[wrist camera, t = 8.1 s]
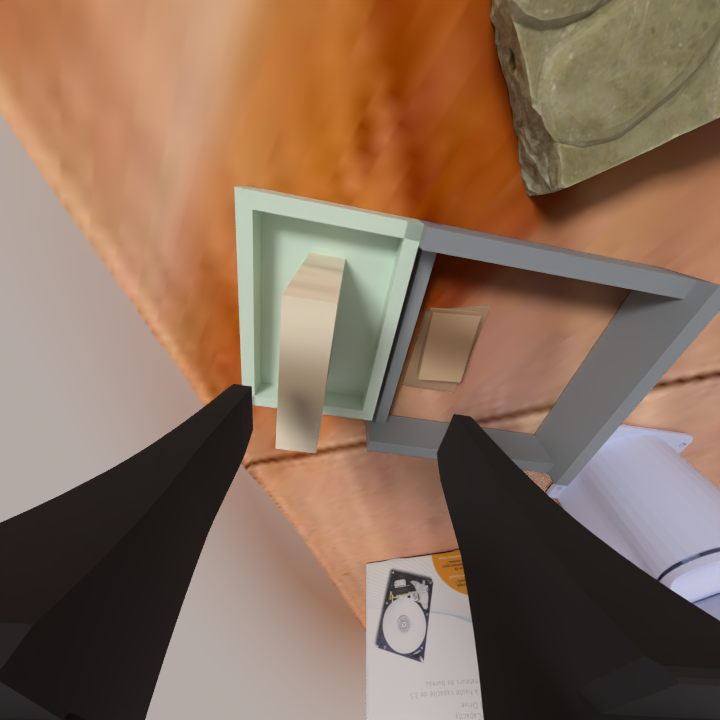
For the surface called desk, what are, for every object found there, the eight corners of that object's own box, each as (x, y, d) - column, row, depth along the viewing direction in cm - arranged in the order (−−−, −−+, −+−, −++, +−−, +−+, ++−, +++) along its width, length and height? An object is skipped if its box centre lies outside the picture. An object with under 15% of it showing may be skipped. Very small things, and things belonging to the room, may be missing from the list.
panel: (328, 374, 21) (316, 453, 15) (299, 370, 21) (275, 448, 15) (345, 258, 17) (337, 303, 11) (310, 252, 17) (281, 294, 11)
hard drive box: (493, 541, 34) (631, 915, 17) (498, 572, 37) (614, 902, 20) (362, 562, 36) (365, 906, 19) (379, 589, 40) (394, 895, 23)
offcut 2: (451, 386, 23) (454, 392, 22) (401, 379, 23) (402, 385, 22) (486, 301, 19) (491, 305, 19) (427, 290, 19) (430, 294, 18)
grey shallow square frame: (539, 444, 25) (567, 485, 22) (366, 421, 24) (367, 462, 20) (663, 268, 17) (737, 290, 14) (417, 219, 16) (432, 230, 13)
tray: (371, 402, 23) (371, 420, 21) (251, 386, 22) (242, 403, 20) (417, 219, 16) (424, 224, 14) (248, 185, 15) (234, 186, 14)
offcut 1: (457, 376, 22) (460, 382, 21) (416, 373, 21) (418, 379, 21) (476, 311, 19) (481, 316, 18) (430, 307, 19) (433, 312, 18)
